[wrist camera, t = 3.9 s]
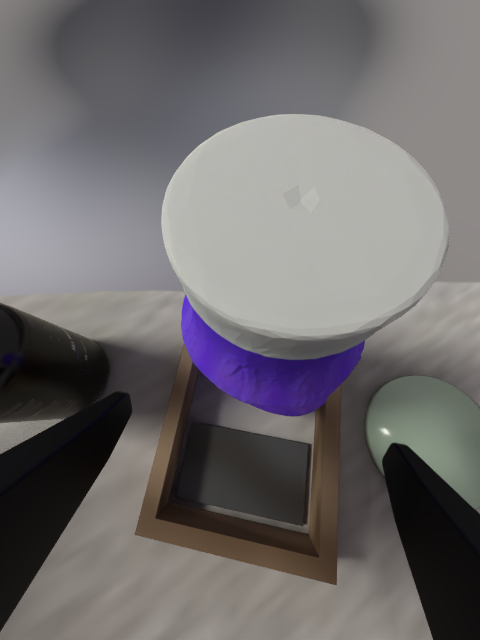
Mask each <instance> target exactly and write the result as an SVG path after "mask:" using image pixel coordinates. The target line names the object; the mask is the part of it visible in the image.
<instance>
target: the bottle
mask: <svg viewBox="0 0 480 640" xmlns="http://www.w3.org/2000/svg"><path fill="white" fill-rule="evenodd" d="M161 223H162V234H163V240H164V245H165V250H166V252H167V255H168V258H169V260H170V263H171V265H172V267H173V269H174V271H175V273H176V274H177V276H178V278H179V280H180V281H181V283H182V286H183V288H184V292H185V298H184V302H183V308H182V322H181V329H182V335H183V340H184V343H185V345H186V348H187V351H188V353H189V355H190V357H191V359H192V361H193V363H194V364H195V366H196V367H197V368H198V369H199V370H200V371H201V372H202V373H203V374H204V375H205V376H206V377H207V378H208V379H209V380H210V381H211V382H212V383H214V384H215V385H216V387H218V388H219V389H221V390H222V391H223V392H225V393H226V394H228V395H230V396H232V397H234V398H236V399H238V400H240V401H242V402H244V403H248V404H250V405H253V406H255V407H257V408H260V409H262V410H265V411H267V412H271V413H274V414H279V415H284V416H301V415H305V414H308V413H311V412H313V411H315V410H316V409H318V408H319V407H320V406H322V405H323V404H324V403H325V402H326V400H327V398H328V397H329V396H330V394H331V393H333V392H334V391H335V390H336V389H337V388H338V386H339V385H340V384H341V383H342V382H343V381H344V380H345V379H346V378H347V377H348V376H349V374H350V373H351V371H352V370H353V369H354V367H355V366H356V365H357V363H358V361H359V360H360V358H361V353H362V351H363V348H364V342H365V340H366V339H367V338H369V337H370V336H371V335H373V334H374V333H375V332H376V331H378V330H380V329H381V328H383V327H385V326H386V325H388V324H389V323H391V322H393V321H394V320H396V319H398V318H399V317H401V316H402V315H403V314H405V313H406V312H407V311H409V310H410V309H411V308H412V307H414V306H415V305H416V304H417V303H418V302H419V301H420V299H421V298H422V297H423V296H424V295H425V294H426V293H427V291H428V290H429V288H430V287H431V286H432V284H433V283H434V281H435V280H436V278H437V277H438V275H439V273H440V272H441V269H442V266H443V264H444V261H445V257H446V254H447V251H448V243H449V223H448V216H447V210H446V207H445V205H444V203H443V201H442V199H441V196H440V194H439V191H438V189H437V187H436V185H435V183H434V182H433V181H432V179H431V178H430V176H429V175H428V174H427V172H426V171H425V170H424V169H423V167H422V166H420V164H419V163H418V162H417V161H416V160H415V159H414V158H413V157H412V156H410V155H409V154H408V153H407V152H406V151H404V150H403V149H401V148H400V147H399V146H398V145H396V144H395V143H393V142H391V141H390V140H388V139H386V138H384V137H382V136H380V135H378V134H377V133H374V132H373V131H371V130H369V129H367V128H364V127H361V126H358V125H355V124H352V123H349V122H345V121H341V120H337V119H334V118H330V117H324V116H317V115H303V114H284V115H272V116H267V117H262V118H258V119H254V120H249V121H245V122H241V123H239V124H236V125H234V126H231V127H229V128H227V129H224V130H222V131H220V132H218V133H217V134H215V135H214V136H212V137H211V138H209V139H208V140H207V141H205V142H203V143H202V144H201V145H199V146H198V147H197V148H196V149H195V150H194V151H193V152H192V153H191V154H190V155H189V156H187V158H186V159H185V160H184V162H183V163H182V165H181V166H180V167H179V168H178V170H177V171H176V172H175V174H174V176H173V178H172V179H171V182H170V183H169V185H168V187H167V190H166V194H165V198H164V202H163V206H162V218H161Z"/></svg>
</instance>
